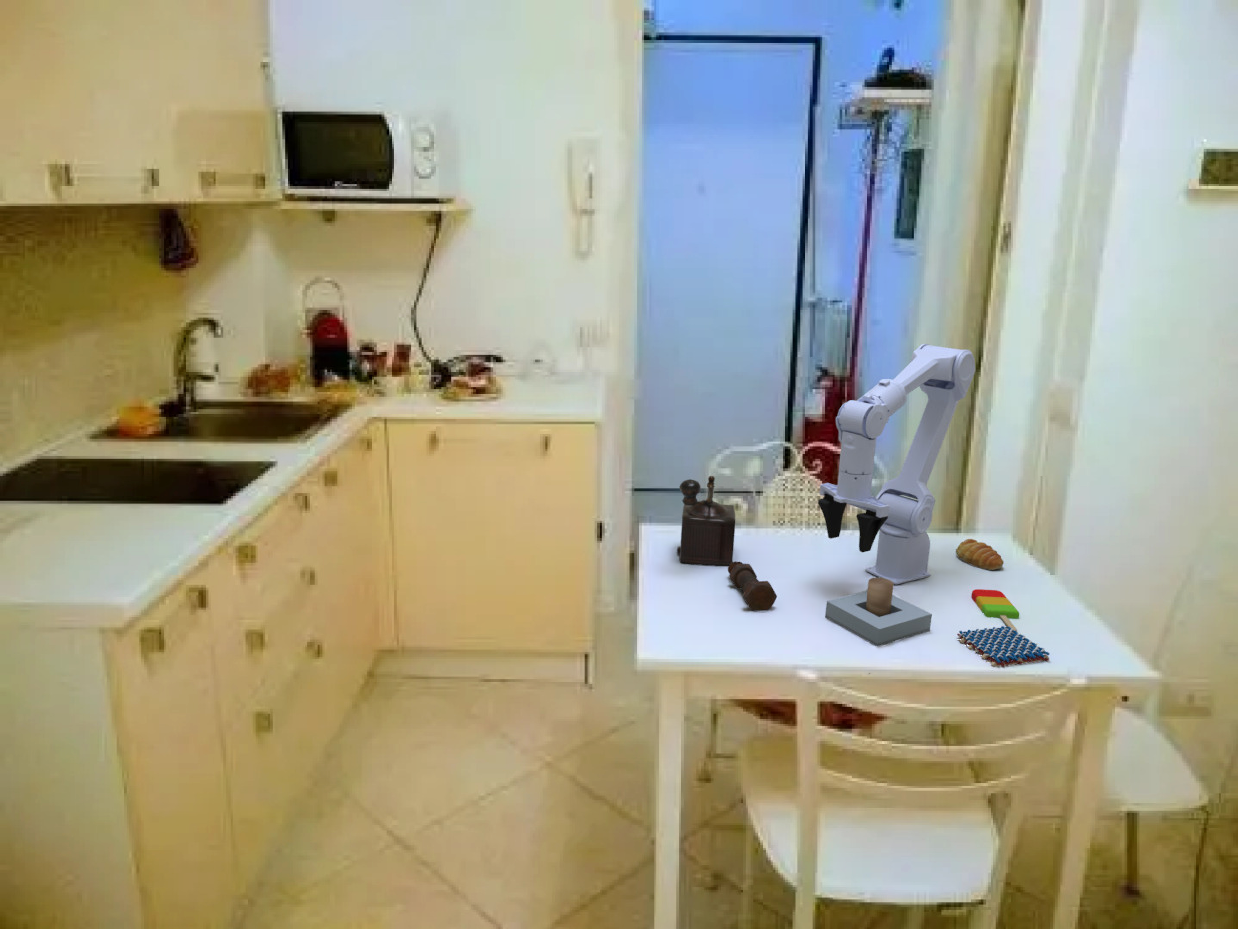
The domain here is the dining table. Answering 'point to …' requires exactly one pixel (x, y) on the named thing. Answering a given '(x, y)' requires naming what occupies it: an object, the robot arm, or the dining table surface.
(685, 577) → the dining table surface
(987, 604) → the popsicle
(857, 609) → the socket block
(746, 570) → the bolt
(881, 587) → the peg
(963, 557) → the pastry
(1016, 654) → the woven mat
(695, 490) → the manual coffee grinder
